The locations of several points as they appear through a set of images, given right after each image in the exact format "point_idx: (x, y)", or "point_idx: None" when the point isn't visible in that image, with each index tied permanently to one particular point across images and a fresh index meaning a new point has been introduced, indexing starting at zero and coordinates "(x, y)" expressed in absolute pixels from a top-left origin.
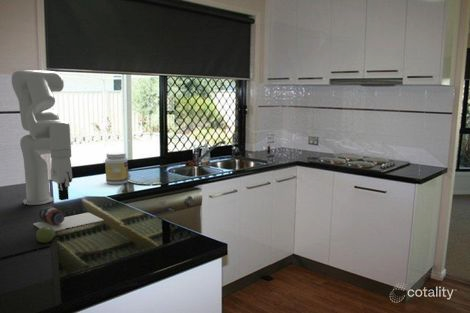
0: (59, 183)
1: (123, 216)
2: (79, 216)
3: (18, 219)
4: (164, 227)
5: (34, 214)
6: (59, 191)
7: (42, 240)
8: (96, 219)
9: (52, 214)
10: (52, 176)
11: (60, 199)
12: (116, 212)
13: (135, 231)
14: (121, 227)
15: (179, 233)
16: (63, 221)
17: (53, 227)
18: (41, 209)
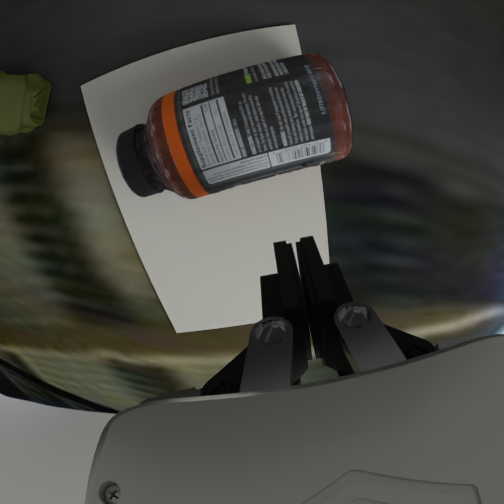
0: (147, 403)
1: (205, 380)
2: None
3: (436, 4)
4: (73, 396)
5: (477, 94)
6: (295, 295)
7: None
8: (193, 315)
9: (146, 130)
10: (499, 413)
11: (274, 244)
12: None
13: (48, 353)
14: (83, 344)
15: (38, 392)
16: None
17: (144, 119)
18: (317, 69)
